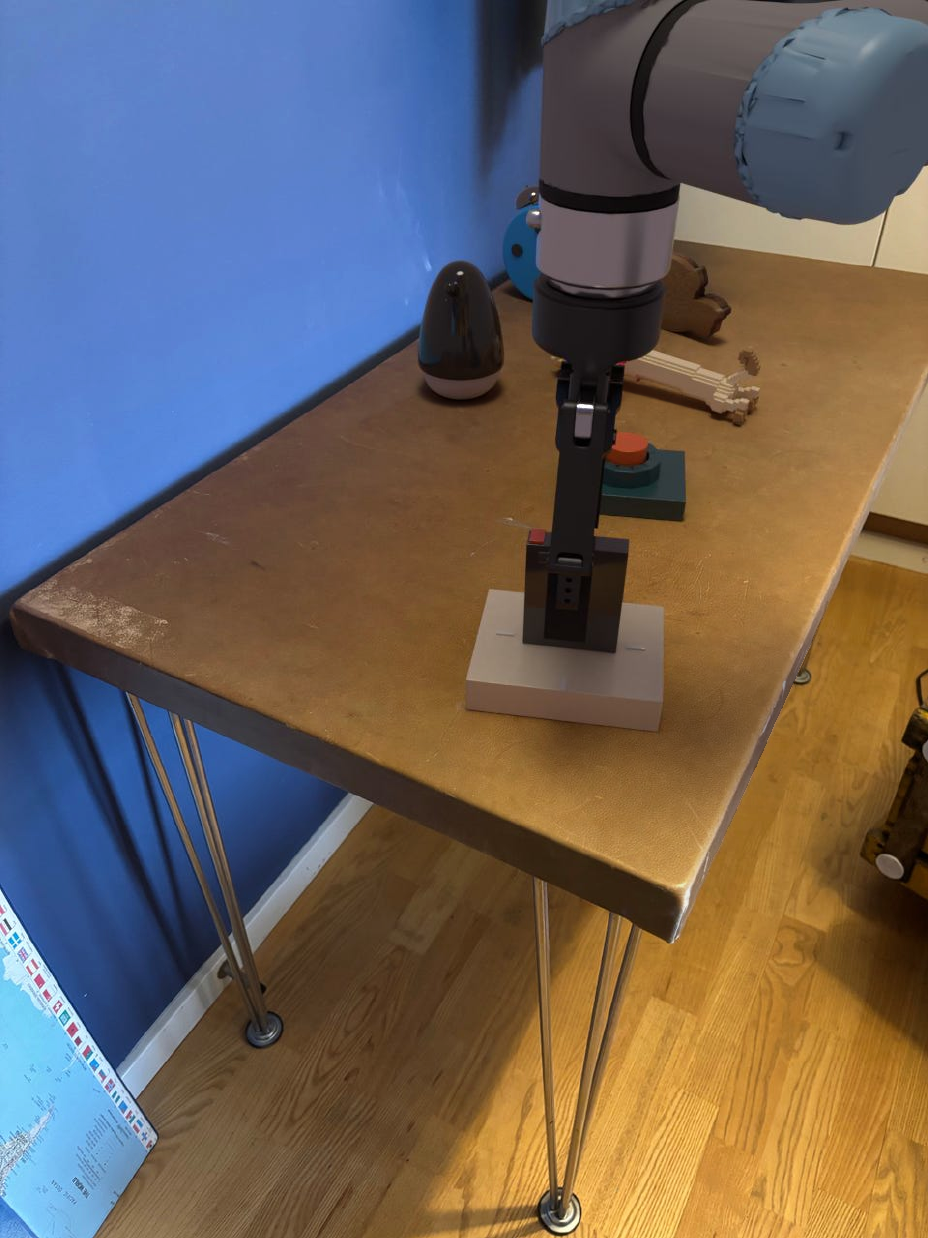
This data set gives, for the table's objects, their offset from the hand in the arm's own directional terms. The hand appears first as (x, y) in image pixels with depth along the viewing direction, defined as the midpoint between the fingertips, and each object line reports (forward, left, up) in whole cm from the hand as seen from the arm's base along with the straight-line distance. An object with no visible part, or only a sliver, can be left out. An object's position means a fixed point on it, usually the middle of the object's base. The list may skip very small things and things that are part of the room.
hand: (573, 576), depth 65 cm
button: (-3, -28, -5) cm, 29 cm away
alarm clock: (+10, -81, -9) cm, 82 cm away
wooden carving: (-8, -72, -9) cm, 73 cm away
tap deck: (0, 0, -9) cm, 9 cm away
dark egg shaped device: (+17, -48, -9) cm, 52 cm away
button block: (-3, -28, -9) cm, 29 cm away
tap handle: (0, 0, -6) cm, 6 cm away
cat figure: (-5, -51, -9) cm, 52 cm away
